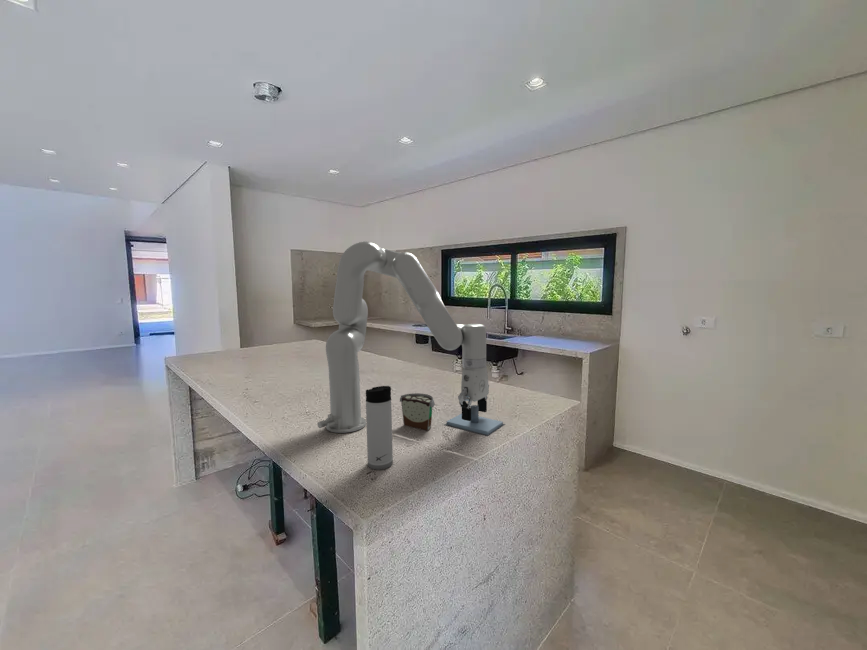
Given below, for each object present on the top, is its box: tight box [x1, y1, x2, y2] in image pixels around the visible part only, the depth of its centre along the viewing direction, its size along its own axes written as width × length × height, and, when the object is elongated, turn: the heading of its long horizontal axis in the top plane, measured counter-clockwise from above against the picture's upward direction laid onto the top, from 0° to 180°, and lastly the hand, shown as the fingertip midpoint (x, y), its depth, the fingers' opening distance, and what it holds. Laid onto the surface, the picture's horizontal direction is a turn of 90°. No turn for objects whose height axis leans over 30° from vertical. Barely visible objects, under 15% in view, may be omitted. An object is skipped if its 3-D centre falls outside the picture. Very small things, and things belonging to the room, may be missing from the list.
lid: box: [446, 404, 504, 435], centre depth 115 cm, size 10×15×6 cm, turn 53°
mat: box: [443, 422, 506, 437], centre depth 115 cm, size 12×16×1 cm
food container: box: [399, 392, 436, 432], centre depth 115 cm, size 12×6×10 cm, turn 58°
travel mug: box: [365, 385, 394, 471], centre depth 89 cm, size 6×7×20 cm
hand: (474, 415), depth 115 cm, fingers open, 9 cm apart
